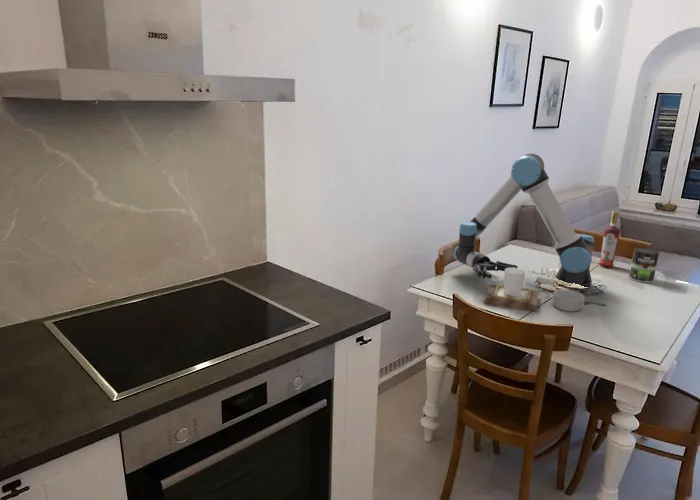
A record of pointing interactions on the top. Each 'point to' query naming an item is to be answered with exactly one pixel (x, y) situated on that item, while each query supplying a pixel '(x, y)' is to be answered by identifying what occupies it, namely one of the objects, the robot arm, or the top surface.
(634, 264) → the coffee can
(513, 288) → the white cup
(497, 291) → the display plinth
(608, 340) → the top surface
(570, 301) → the saucepan
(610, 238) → the liquor
